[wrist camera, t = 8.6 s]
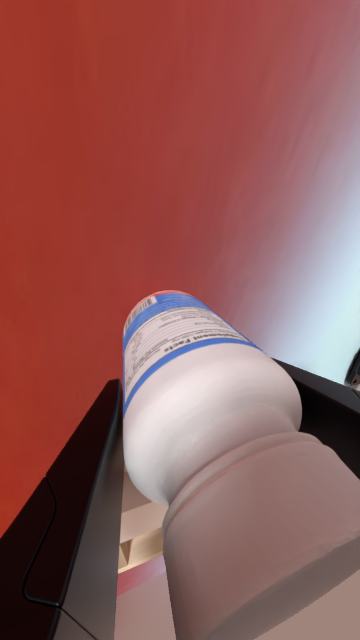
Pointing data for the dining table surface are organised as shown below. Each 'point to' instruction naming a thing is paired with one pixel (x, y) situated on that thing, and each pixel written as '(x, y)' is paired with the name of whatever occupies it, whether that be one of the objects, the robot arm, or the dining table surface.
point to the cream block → (138, 512)
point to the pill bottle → (231, 473)
